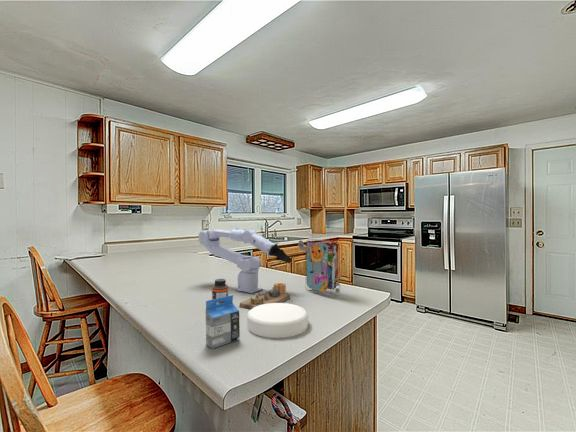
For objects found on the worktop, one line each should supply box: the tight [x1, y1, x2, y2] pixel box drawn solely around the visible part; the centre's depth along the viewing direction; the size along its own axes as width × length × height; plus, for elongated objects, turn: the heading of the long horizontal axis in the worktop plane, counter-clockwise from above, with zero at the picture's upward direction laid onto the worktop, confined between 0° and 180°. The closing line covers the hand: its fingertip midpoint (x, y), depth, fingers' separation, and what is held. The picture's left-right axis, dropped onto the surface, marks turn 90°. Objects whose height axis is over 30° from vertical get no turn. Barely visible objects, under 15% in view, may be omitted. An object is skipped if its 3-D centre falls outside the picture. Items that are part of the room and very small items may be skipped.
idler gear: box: [273, 282, 287, 294], centre depth 132 cm, size 6×6×4 cm
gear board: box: [239, 286, 291, 310], centre depth 117 cm, size 11×20×5 cm, turn 149°
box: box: [297, 238, 341, 299], centre depth 134 cm, size 25×6×24 cm, turn 39°
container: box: [246, 302, 309, 339], centre depth 94 cm, size 20×20×5 cm
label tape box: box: [205, 294, 241, 350], centre depth 81 cm, size 9×4×12 cm, turn 133°
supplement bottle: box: [211, 278, 229, 305], centre depth 109 cm, size 6×6×11 cm
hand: (288, 259), depth 127 cm, fingers open, 7 cm apart
